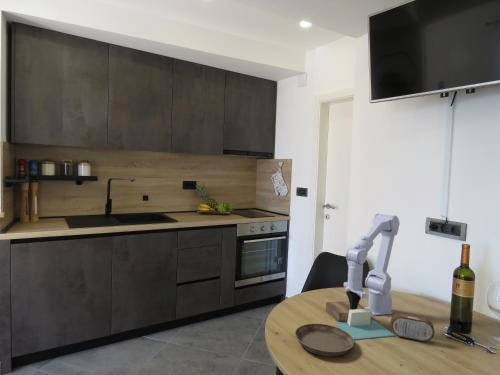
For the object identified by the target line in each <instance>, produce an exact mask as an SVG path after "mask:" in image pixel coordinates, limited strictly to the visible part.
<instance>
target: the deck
mask: <svg viewBox="0 0 500 375" xmlns="http://www.w3.org/2000/svg"><path fill="white" fill-rule="evenodd" d="M357 309H366V308H364V306H363V305H362V304H360V303H359V304H358V307H357ZM349 310H352V309H351V308H350V303H349V300H344V301H343V300H340V301H339V300H338V301H327V302H325V312H326V313H327V314H329V315H330V317H331V318H333V319H334V320H335V321H336V322H348V315H349Z"/></svg>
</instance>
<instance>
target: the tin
mask: <svg viewBox="0 0 500 375" xmlns="http://www.w3.org/2000/svg"><path fill="white" fill-rule="evenodd" d="M390 327H391V331H392V332H393V334H394V335H396V336H399V337H400V338H405V339H410V340H414V341H418V342H424V343H425V342H429V341H430V340H432V339H433V338H434V336H435V328H434V325H433V323H432V322H431V321H430V320H429V319H427V318H425V317H421V316H420V317H419V316H415V315H410V314H405V313H397V314H395V315H393V316H392V317H391V320H390Z"/></svg>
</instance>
